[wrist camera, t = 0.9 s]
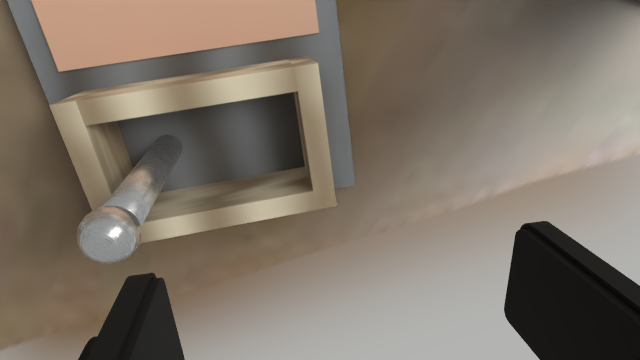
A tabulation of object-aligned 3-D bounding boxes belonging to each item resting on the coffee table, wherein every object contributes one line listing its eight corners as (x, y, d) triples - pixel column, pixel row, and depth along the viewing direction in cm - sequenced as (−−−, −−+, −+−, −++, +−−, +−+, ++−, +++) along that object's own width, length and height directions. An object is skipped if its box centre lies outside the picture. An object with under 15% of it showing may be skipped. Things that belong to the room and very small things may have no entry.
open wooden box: (308, 56, 29) (318, 63, 24) (325, 180, 33) (336, 206, 28) (83, 91, 28) (49, 105, 23) (129, 216, 31) (107, 249, 27)
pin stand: (311, -204, 24) (390, -521, 10) (352, 181, 34) (421, 294, 20) (-53, -170, 22) (-588, -497, 8) (105, 226, 33) (-10, 387, 18)
